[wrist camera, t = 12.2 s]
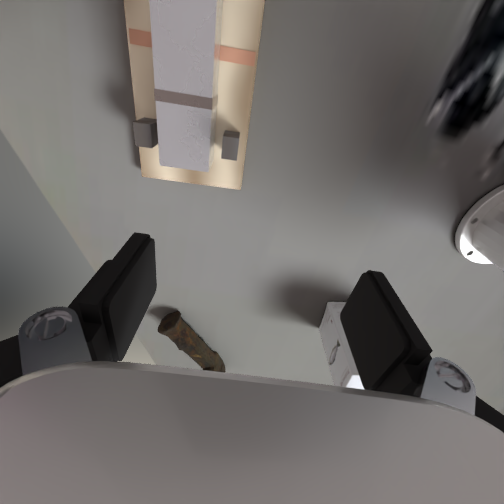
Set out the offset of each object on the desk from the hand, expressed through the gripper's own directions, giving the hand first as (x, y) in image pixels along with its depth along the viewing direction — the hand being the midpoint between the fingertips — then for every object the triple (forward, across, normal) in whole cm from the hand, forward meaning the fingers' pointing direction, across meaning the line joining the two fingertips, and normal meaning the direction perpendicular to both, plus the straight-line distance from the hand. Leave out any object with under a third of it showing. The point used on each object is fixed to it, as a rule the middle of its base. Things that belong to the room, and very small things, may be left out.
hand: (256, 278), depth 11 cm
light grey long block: (+19, +7, -8) cm, 22 cm away
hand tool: (+21, +4, +35) cm, 41 cm away
